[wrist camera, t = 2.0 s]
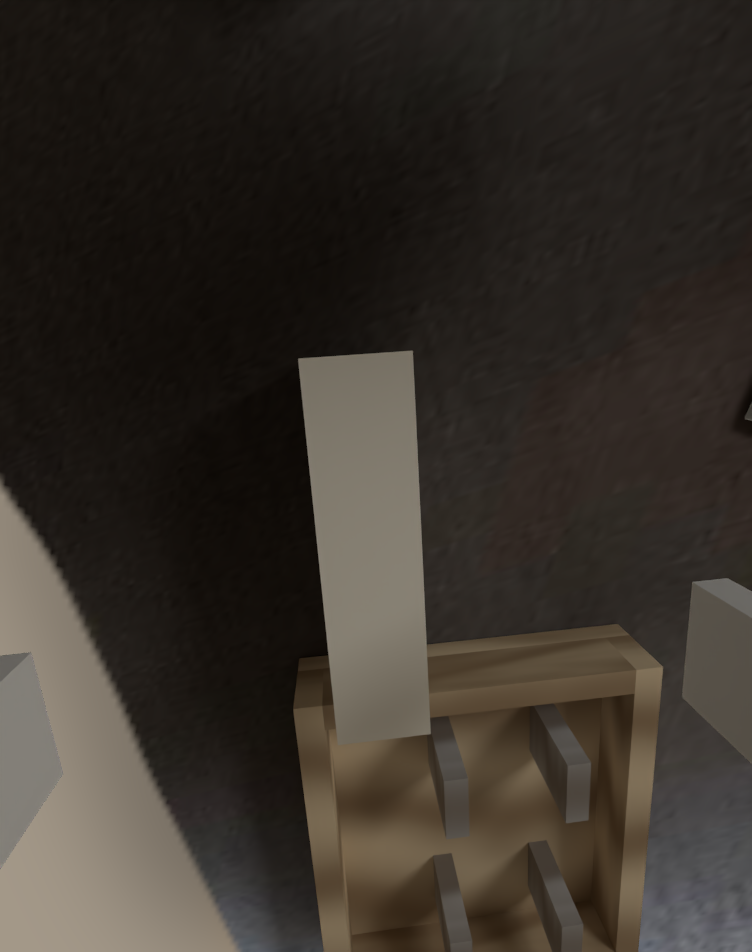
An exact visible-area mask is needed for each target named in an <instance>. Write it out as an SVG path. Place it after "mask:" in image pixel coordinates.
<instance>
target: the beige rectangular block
mask: <svg viewBox="0 0 752 952" xmlns="http://www.w3.org/2000/svg"><path fill="white" fill-rule="evenodd" d="M298 364H299V374H300V383H301V393H302V403H303V412H304V422H305V432H306V441H307V451H308V461H309V470H310V480H311V490H312V500H313V509H314V519H315V529H316V538H317V548H318V558H319V567H320V577H321V587H322V597H323V606H324V616H325V626H326V635H327V645H328V655H329V664H330V674H331V684H332V694H333V703H334V713H335V723H336V732H337V742H338V745H344V744H352V743H361V742H369V741H377V740H386V739H394V738H402V737H411V736H419V735H427V734H431V729H430V707H429V686H428V665H427V644H426V622H425V601H424V580H423V559H422V537H421V516H420V495H419V473H418V452H417V431H416V410H415V388H414V367H413V351H401V352H387V353H372V354H358V355H343V356H329V357H314V358H299V359H298Z"/></svg>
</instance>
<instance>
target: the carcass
mask: <svg viewBox="0 0 752 952" xmlns="http://www.w3.org/2000/svg"><path fill="white" fill-rule="evenodd" d="M427 665H428V686H429V707H430V729H431V734H427V735H419V736H411V737H402V738H394V739H386V740H377V741H369V742H361V743H352V744H344V745H338V742H337V732H336V723H335V713H334V703H333V694H332V684H331V674H330V664H329V655H326V656H317V657H307V658H299V665H298V673H297V681H296V690H295V698H294V706H293V712H294V720H295V728H296V736H297V744H298V751H299V759H300V767H301V775H302V783H303V791H304V799H305V806H306V814H307V822H308V830H309V838H310V846H311V854H312V862H313V869H314V877H315V885H316V893H317V901H318V909H319V917H320V924H321V932H322V940H323V948H324V952H638V946H639V934H640V923H641V912H642V900H643V889H644V877H645V866H646V855H647V843H648V832H649V820H650V809H651V798H652V786H653V775H654V764H655V752H656V741H657V729H658V718H659V707H660V695H661V684H662V673H663V666H661V665H660V664H659V663H658V662H657V661H656V660H655V659H654V658H653V657H652V656H651V655H650V654H649V653H648V652H647V651H646V650H644V649H643V648H642V647H641V646H640V645H639V644H638V643H637V642H636V641H635V640H634V639H633V638H632V637H631V636H630V635H629V634H627V633H626V632H625V631H624V630H623V629H622V628H621V627H620V626H619V625H618V624H613V625H604V626H595V627H585V628H576V629H567V630H558V631H548V632H539V633H530V634H520V635H511V636H502V637H493V638H483V639H474V640H465V641H456V642H446V643H437V644H428V645H427Z"/></svg>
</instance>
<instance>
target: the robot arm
mask: <svg viewBox="0 0 752 952" xmlns="http://www.w3.org/2000/svg"><path fill="white" fill-rule="evenodd" d="M682 698H683V699H684V700H685V701H686V702H688V703H689V704H690V705H691V706H692V707H693V708H694V709H695V710H696V711H697V712H698V713H699V714H700V715H701V716H702V717H703V718H704V719H705V720H706V721H707V722H709V723H710V724H711V725H712V726H713V727H714V728H715V729H716V730H717V731H718V732H719V733H720V734H721V735H722V736H723V737H724V738H725V739H726V740H727V741H728V742H729V743H731V744H732V745H733V746H734V747H735V748H736V749H737V750H738V751H739V752H740V753H741V754H742V755H743V756H744V757H745V758H746V759H747V760H748V761H749V762H750V763H752V591H750V590H748V589H746V588H744V587H742V586H741V585H739V584H737V583H735V582H733V581H731V580H729V579H728V578H726V579H717V580H707V581H698V582H692V592H691V603H690V615H689V626H688V637H687V648H686V659H685V670H684V681H683V692H682ZM62 774H63V772H62V768H61V764H60V760H59V757H58V753H57V749H56V745H55V741H54V737H53V734H52V730H51V726H50V722H49V718H48V715H47V711H46V707H45V703H44V700H43V696H42V692H41V688H40V684H39V680H38V677H37V673H36V669H35V665H34V661H33V657H32V654H31V653H22V654H12V655H3V656H0V869H1V867H2V866H3V864H4V863H5V861H6V860H7V858H8V856H9V855H10V853H11V851H12V850H13V849H14V847H15V846H16V844H17V843H18V841H19V840H20V838H21V837H22V835H23V834H24V832H25V831H26V829H27V828H28V826H29V824H30V823H31V822H32V820H33V819H34V817H35V816H36V814H37V812H38V811H39V809H40V808H41V806H42V805H43V803H44V802H45V800H46V799H47V797H48V796H49V794H50V793H51V791H52V790H53V788H54V787H55V785H56V784H57V782H58V781H59V779H60V778H61V776H62Z"/></svg>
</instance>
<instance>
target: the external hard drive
mask: <svg viewBox="0 0 752 952" xmlns="http://www.w3.org/2000/svg"><path fill="white" fill-rule="evenodd" d="M745 419H747V420H750V421H752V402H751V405H750V407H749V409H748V411H747V413H746V415H745Z"/></svg>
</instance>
